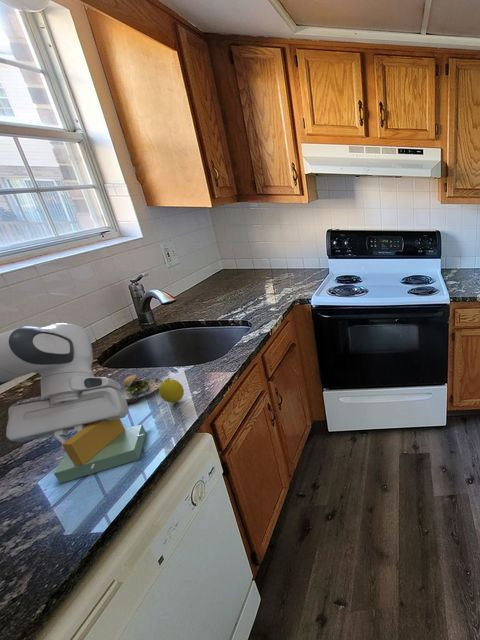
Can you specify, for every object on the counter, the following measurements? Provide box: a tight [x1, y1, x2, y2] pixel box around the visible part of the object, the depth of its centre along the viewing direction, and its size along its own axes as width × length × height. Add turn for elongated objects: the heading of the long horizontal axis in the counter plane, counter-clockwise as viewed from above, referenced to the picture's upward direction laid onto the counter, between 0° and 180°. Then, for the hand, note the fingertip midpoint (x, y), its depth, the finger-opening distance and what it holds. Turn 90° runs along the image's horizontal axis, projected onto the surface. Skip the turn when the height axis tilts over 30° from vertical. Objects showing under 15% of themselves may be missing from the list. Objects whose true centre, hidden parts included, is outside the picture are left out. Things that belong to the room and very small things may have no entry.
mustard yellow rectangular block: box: [61, 419, 126, 465], centre depth 85 cm, size 12×2×6 cm, turn 2°
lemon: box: [158, 378, 185, 404], centre depth 106 cm, size 6×6×8 cm
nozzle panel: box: [53, 423, 147, 484], centre depth 87 cm, size 16×16×3 cm
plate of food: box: [120, 374, 163, 405], centre depth 111 cm, size 12×12×8 cm
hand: (72, 448), depth 82 cm, fingers closed
